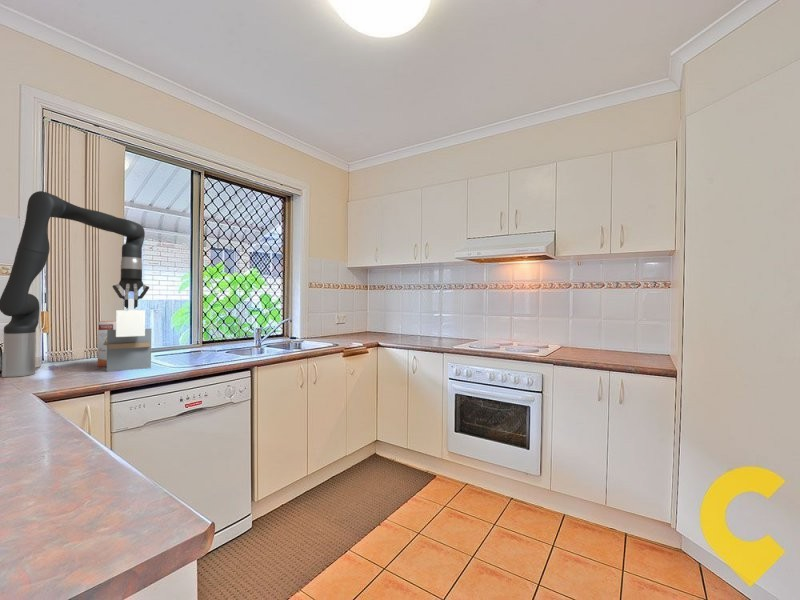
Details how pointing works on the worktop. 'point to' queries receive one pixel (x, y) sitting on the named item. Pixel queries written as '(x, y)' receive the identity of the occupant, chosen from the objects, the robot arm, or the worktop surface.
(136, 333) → the white block
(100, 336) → the cracker box
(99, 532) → the worktop surface
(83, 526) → the worktop surface
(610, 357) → the worktop surface
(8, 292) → the robot arm
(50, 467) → the worktop surface
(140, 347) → the wall board
